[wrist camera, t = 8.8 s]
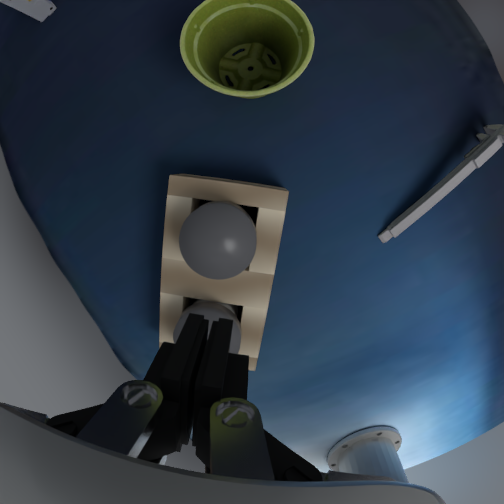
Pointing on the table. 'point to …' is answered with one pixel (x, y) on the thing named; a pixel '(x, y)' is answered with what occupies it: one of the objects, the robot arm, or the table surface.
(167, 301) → the mount
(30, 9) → the blue upright box
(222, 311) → the knob far
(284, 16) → the plant pot
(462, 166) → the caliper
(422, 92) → the table surface
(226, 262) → the knob near
